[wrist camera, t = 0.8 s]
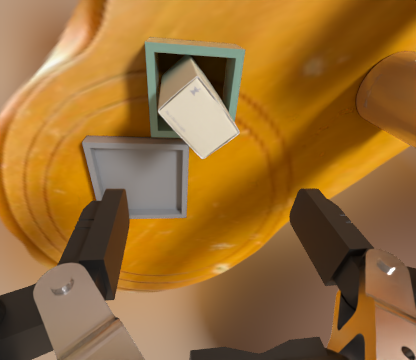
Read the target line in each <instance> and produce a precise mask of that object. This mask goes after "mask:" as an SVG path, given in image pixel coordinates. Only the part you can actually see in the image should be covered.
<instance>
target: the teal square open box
mask: <svg viewBox="0 0 416 360" xmlns="http://www.w3.org/2000/svg"><path fill="white" fill-rule="evenodd" d="M145 52H146V67H147V83H148V98H149V113H150V129H151V137H167V138H181V137H180V136H179V135H178V134H177V133H176V132H175V131H174V130H173V129H172V128H171V126H170V125H169V124H168V123H167V122H166V121H165V120H164V118H163V117H162V116H161V115H160V114H159V112H158V105H159V97H160V94H159V67H158V52H160V53H173V54H187V55H200V56H214V57H227V60H226V69H225V78H224V87H223V96H222V102H223V104H224V105H225V107H226V109H227V111H228V112H229V114H230V116H231V117H232V119H233V121H234V122H235V115H236V108H237V102H238V95H239V88H240V82H241V75H242V68H243V62H244V55H245V49H243V48H241V47H239V46H238V45H236V44H227V43H215V42H203V41H191V40H178V39H166V38H154V37H150V38H148V39H147V40H146V41H145Z"/></svg>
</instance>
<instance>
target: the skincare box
mask: <svg viewBox="0 0 416 360" xmlns="http://www.w3.org/2000/svg"><path fill="white" fill-rule="evenodd" d="M158 112H159V114H160V115H161V116H162V117H163V118H164V120H165V121H166V122H167V123H168V124H169V125H170V126H171V128H172V129H173V130H174V131H175V132H176V133H177V134H178V135H179V136H180V137H181V138H182V139H183V140H184V141H185V142H186V143H187V144H188V145H189V146H190V147H191V148H192V149H193V150H194V151H195V152H196V154H197V155H199V156H200V157H201V158H202V159H204V158H206V157H207V156H209V155H210V154H212V153H213V152H214V151H216V150H217V149H219V148H220V147H222V146H223V145H225V144H226V143H227V142H229V141H230V140H231V139H233V138H234V137H236V136H237V135H238V134H239V129H238V128H237V126H236V124H235V123H234V121H233V119H232V117H231V116H230V114H229V112H228V111H227V109H226V107H225V105H224V104H223V102H222V100H221V98H220V97H219V95H218V93H217V92H216V90H215V89H214V87H213V86H212V84H211V83H210V81H209V80H208V79H207V77H206V76H205V74H204V73H203V71H202V70H201V69H200V67H199V66H198V64H197V63H196V62H195V60H194V59H193V58H192V56H191V55H187V54H186V55H184V56H183V57H182V58H181V59H180V60H179V61H177V62H176V63H175V64H174V65H173V66H172V67H171V68H170V69H169V70H167V71H166V72H165V73H164V74H163V75H162V80H161V88H160V97H159V105H158Z"/></svg>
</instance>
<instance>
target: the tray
mask: <svg viewBox="0 0 416 360" xmlns="http://www.w3.org/2000/svg"><path fill="white" fill-rule="evenodd" d="M82 145H83V149H84V153H85V156H86V160H87V164H88V168H89V172H90V176H91V180H92V184H93V188H94V192H95V196H96V200H97V201H101V200H102V197H103V195H104V192H105V190H106V189H125V190H126V195H127V202H128V209H129V219H147V218H186V213H187V186H188V158H189V145H188V144H187V143H186V142H185V141H184V140H183V139H182V138H154V137H117V136H86V138H85V139H84V140H83V142H82Z"/></svg>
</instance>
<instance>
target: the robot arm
mask: <svg viewBox="0 0 416 360" xmlns="http://www.w3.org/2000/svg"><path fill="white" fill-rule="evenodd" d="M356 107H357V110H358V113H359V114H360V116H361V117H362V118H364V119H365V120H367V121H369V122H371V123H372V124H374V125H376V126H378V127H379V128H381V129H383V130H384V131H386V132H388V133H390V134H391V135H393V136H395V137H397V138H398V139H400V140H402V141H404V142H405V143H407V144H409V145H411V146H413V147H414V148H416V52H409V51H404V52H398V53H395V54H393V55H390V56H389V57H387V58H385V59H383V60H382V61H381V62H379V63H378V64H377V65H376V66H375V67H374V68H373V69H372V70H371V71H370V72H369V73H368V74H367V76H366V77H365V79H364V80H363V82H362V84H361V86H360V88H359V91H358V94H357V99H356ZM290 223H291V225H292V227H293V229H294V231H295V233H296V234H297V236H298V238H299V240H300V241H301V243H302V245H303V247H304V249H305V250H306V252H307V254H308V256H309V258H310V259H311V261H312V262H313V264H314V266H315V268H316V270H317V272H318V274H319V275H320V277H321V279H322V281H323V283H324V284H325V286H331V285H337V286H338V288H339V291H338V292H337V294H336V302H335V310H334V319H333V326H332V334H331V337H330V340H329V343H328V344H327V348H324V346H323V344H322V342H321V340H320V337H313V338H304V339H295V340H289V341H287V342H285V343H283V344H280V345H279V346H276V347H274V348H273V349H270V350H268V351H266V352H264V353H260V354H258V353H252V352H247V351H242V350H237V349H232V348H227V347H219V348H210V349H201V350H192V351H190V360H416V269H415V268H411V267H406V266H405V265H404V263H403V262H401V260H400V259H398V258H397V257H395V256H394V255H393V254H391V253H389V252H386V251H383V250H381V249H374V247H373V246H372V245H371V244H370V243H369V242H368V241H367V239H366V238H365V237H364V236H363V235H362V234H361V232H360V231H359V230H358V229H357V228H356V227H355V226H354V225H353V223H351V221H350V220H349V218H348V217H347V216H345V214H344V213H343V211H342V210H341V209H340V208H339V207H338V206H337V205H336V204H334V203H333V202H331V201H330V200H329V199H326V197H325V196H324V195H323V194H322V193H321V191H320V190H319V189H300V190H299V191H298V193H297V196H296V199H295V201H294V204H293V206H292V209H291V211H290ZM128 230H129V209H128V202H127V195H126V190H125V189H106V190H105V192H104V195H103V197H102V200H101V201H92V202H91V203H90V204H88V205H87V206H86V207H85V208H84V209H83V211H82V213H81V215H80V218H79V221H78V222H77V224H76V226H75V230H74V231H73V233H72V235H71V237H70V239H69V242H68V244H67V246H66V248H65V250H64V253H63V255H62V257H61V259H60V261H59V263H58V265H57V266H56V267H54V268H52V269H50V270H49V271H47V272H46V273H45V274H44V275H43V276H42V277H41V278H40V279H39V280H38V282H37V283H36V284H34V285H31V286H28V287H25V288H22V289H19V290H16V291H13V292H10V293H7V294H4V295H1V296H0V360H32V359H34V358H36V357H39V356H41V355H43V354H46V353H48V352H50V351H53V350H54V351H55V354H56V357H57V360H145V359H144V357H143V356H142V354H141V352H140V351H139V349H138V348H137V346H136V344H135V343H134V341H133V339H132V338H131V336H130V335H129V333H128V331H127V330H126V328H125V327H124V325H123V324H122V322H121V321H120V319H119V318H116V317H115V316H114V315H113V313H112V312H111V310H110V308H109V306H108V305H107V303H106V302H105V300H114V299H115V293H116V289H117V284H118V279H119V274H120V269H121V264H122V260H123V255H124V250H125V245H126V240H127V235H128Z"/></svg>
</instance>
